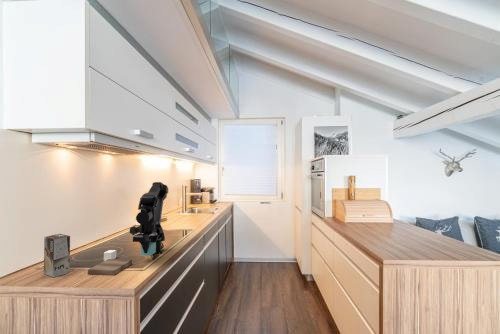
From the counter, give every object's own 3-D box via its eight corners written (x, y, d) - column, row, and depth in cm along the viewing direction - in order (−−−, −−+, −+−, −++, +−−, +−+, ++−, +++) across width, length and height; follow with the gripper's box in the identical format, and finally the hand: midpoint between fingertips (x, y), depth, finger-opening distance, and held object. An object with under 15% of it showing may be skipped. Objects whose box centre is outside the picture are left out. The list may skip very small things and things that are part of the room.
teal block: (146, 252, 121) (146, 242, 121) (155, 252, 120) (155, 242, 120) (141, 255, 116) (141, 244, 116) (150, 255, 115) (150, 245, 115)
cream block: (109, 257, 123) (109, 250, 123) (116, 258, 123) (116, 250, 123) (103, 260, 119) (103, 252, 119) (111, 260, 119) (111, 252, 119)
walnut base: (108, 263, 115) (108, 259, 115) (131, 263, 114) (131, 259, 114) (87, 274, 102) (87, 269, 102) (114, 275, 101) (114, 270, 101)
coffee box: (70, 272, 105) (71, 235, 105) (53, 277, 99) (53, 239, 100) (59, 268, 109) (60, 233, 110) (42, 273, 103) (43, 236, 104)
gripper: (143, 216, 129) (143, 245, 128) (121, 223, 110) (121, 257, 109) (163, 216, 128) (163, 246, 127) (144, 223, 109) (144, 258, 108)
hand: (148, 251), depth 118 cm, fingers closed on teal block, 5 cm apart
